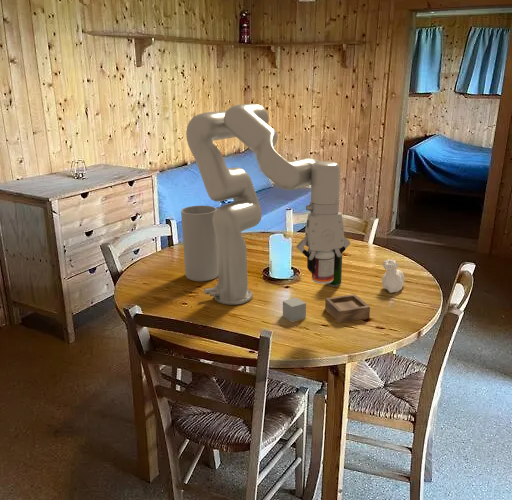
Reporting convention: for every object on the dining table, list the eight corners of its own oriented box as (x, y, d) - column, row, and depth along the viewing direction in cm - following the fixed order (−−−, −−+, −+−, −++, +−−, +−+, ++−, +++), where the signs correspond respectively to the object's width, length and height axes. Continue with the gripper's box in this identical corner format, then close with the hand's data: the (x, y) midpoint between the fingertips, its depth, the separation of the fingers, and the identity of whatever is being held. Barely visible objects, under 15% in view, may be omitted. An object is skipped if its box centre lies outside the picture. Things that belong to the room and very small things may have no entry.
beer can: (332, 288, 179) (333, 255, 175) (322, 283, 183) (323, 251, 179) (344, 284, 182) (345, 252, 178) (334, 280, 186) (335, 248, 182)
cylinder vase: (216, 268, 200) (213, 204, 192) (222, 280, 188) (219, 212, 180) (183, 271, 197) (179, 207, 189) (187, 283, 185) (183, 215, 177)
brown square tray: (338, 322, 154) (339, 311, 153) (325, 309, 163) (325, 298, 162) (369, 318, 157) (369, 306, 155) (354, 304, 166) (354, 294, 165)
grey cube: (292, 322, 155) (292, 307, 154) (282, 316, 159) (282, 301, 158) (305, 318, 158) (306, 303, 156) (296, 312, 162) (296, 297, 160)
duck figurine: (398, 289, 183) (382, 261, 184) (416, 280, 178) (398, 251, 179) (383, 300, 174) (365, 270, 175) (401, 291, 169) (382, 261, 170)
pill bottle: (310, 276, 151) (310, 239, 147) (331, 275, 151) (332, 238, 147) (313, 284, 145) (314, 246, 141) (335, 284, 145) (337, 245, 141)
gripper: (298, 214, 136) (298, 278, 141) (360, 209, 140) (357, 271, 146) (289, 207, 143) (289, 269, 148) (348, 202, 147) (346, 262, 152)
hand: (323, 269), depth 147 cm, fingers closed on pill bottle, 6 cm apart
